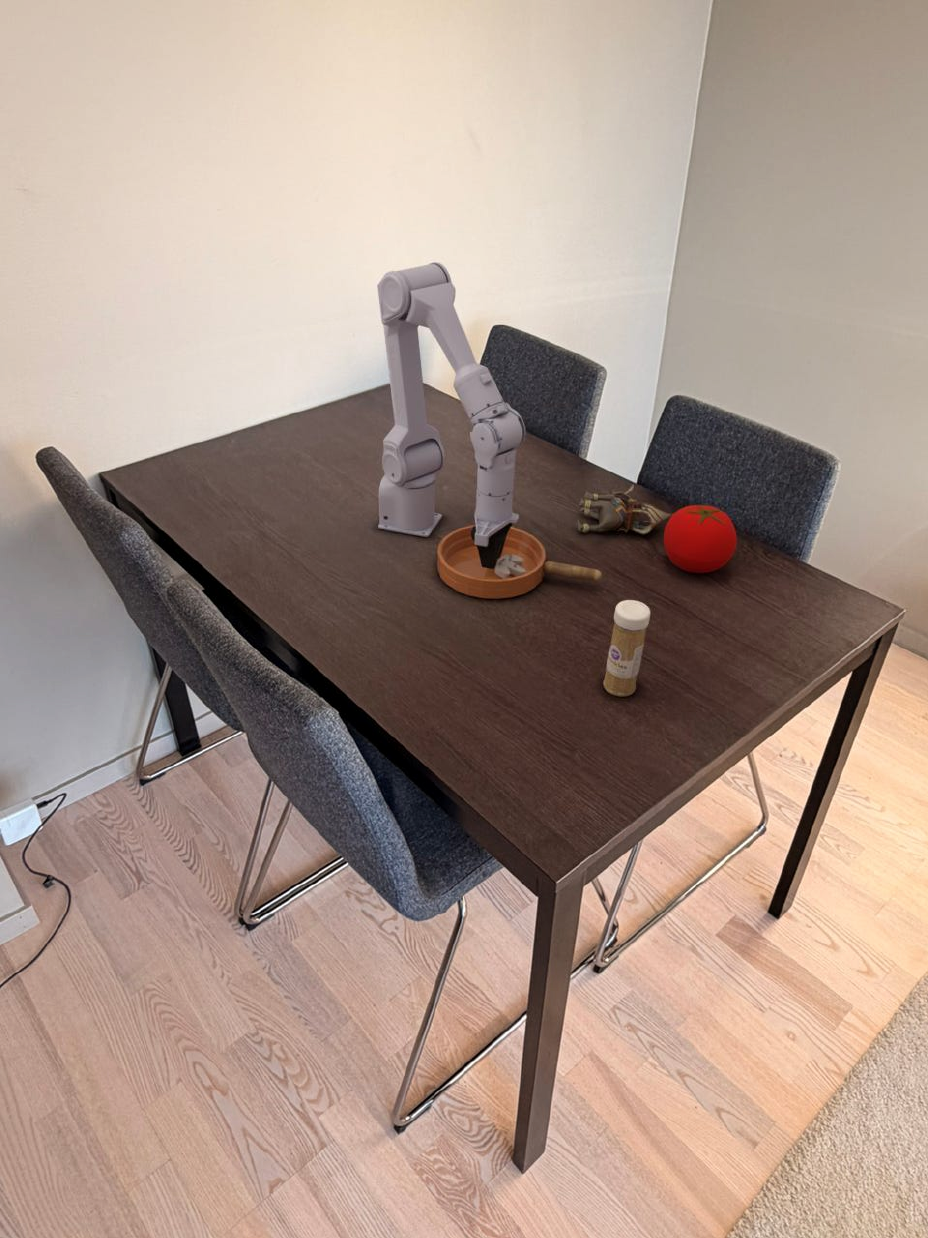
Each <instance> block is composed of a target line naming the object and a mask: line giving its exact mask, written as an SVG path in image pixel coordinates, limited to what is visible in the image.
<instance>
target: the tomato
mask: <svg viewBox="0 0 928 1238" xmlns="http://www.w3.org/2000/svg"><path fill="white" fill-rule="evenodd" d="M672 514H673V513H672ZM737 545H738V537H737V532H736V529H735V526H734V524H733V522H732V520H731V518H730V516H728V514H727V513H725V512H724V511H723V510H721V509H719V508H717V507H715V506H713V505H705V504H704V505H703V504H697V503H696V504H693V505H691V504H690V505H688V506H685V507H682V508H680V509H678V510H677V511H676V512H674V514H673V515H672V516H671V517H669V518H668V521H667V523H666V525H665V528H664V532H663V546H664V551H665V554H666V556H667V559H669V561H670V562H671V563H672V564H673V566H676V567H677V568H678V569H680V570H682V571H684V572H688V573H692V574H693V573H695V574H707V573H711V572H715V571H717V570H719V569H721V568H722V567H724V566H725V565H726V564H727V563H728V562H729V561H730V560H731V558H732V557H733V556H734V554H735V552H736V549H737Z"/></svg>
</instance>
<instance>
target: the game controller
mask: <svg viewBox="0 0 928 1238" xmlns="http://www.w3.org/2000/svg"><path fill="white" fill-rule="evenodd" d="M464 555H466V554H464ZM460 556H461V555H460ZM468 556H469V555H468ZM470 557H471V556H470ZM472 559H473V558H472ZM474 560H476V559H474ZM522 562H523V558H521V557H519V556H516V555H513V554H507V555H504V556H502V557H501V558H500V559H499V560H498V561H497V563H496V567H495V573H496V574H497V575H498V576H499V577H501V578H503V579H506V578H509V575H510V574H511V575H514V576H521V575H524V574H525V569H523V568H522V567H521V566H522Z"/></svg>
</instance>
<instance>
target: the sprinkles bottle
mask: <svg viewBox="0 0 928 1238" xmlns="http://www.w3.org/2000/svg"><path fill="white" fill-rule="evenodd" d="M650 619H651V609H650V607H649V606H647V604H645V603H644V602H641V601H639V600H634V599H625V600H622V601H620V602H618V603H617V604H616V605H615V608H614V614H613V622H614V624H613V628H612V635H611V640H610V646H609V649H608V655H607V661H606V669H605V674H604V675H605V677H604V680H603V683H602V685H603V687H604V690H606V692H607V693H609V694H610V695H612V696H615V697H620V698H621V697H622V698H623V697H629V696H631V695H633V694H634V692H636V689H637V685H636V683H637V679H638V675H639V671H640V666H641V660H642V655H643V650H644V644H645V638H646V632H647V628H648V625H649V624H650Z"/></svg>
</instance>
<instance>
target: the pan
mask: <svg viewBox="0 0 928 1238" xmlns="http://www.w3.org/2000/svg"><path fill="white" fill-rule="evenodd" d="M473 526H476V525H475V524H472V525H469V526H464V527H460V528H457V529H456V530H454V531H453V530H452V531H451V532H450V533H448V534H447V535H444V537H443V538H442V539H441V540H440V542H439V544H438V545H437V552H436V553H437V554H436V555H437V557H436V559H437V560H436V563H437V564H436V565H437V567H436V569H437V573H438V575H439V577H440V579H441V580H442V582H444V583H445V585H447V586H449V587H450V588H452V589H453V590H455V591H456V592H458V593H462V594H464V595H466V596H470V597H476V598H481V599H495V600H497V599H498V600H499V599H506V598H514V597H517V596H520V595H525V594H526V593H528V592H531V591H532V590H533V589H535V588H536V587H537V586H538V585H539V584H541V582H542V581H543V578H544V575H545V571H544V570H543V566H544V563H545V562H547V561H546V560H547V555H546V553H547V552H546V549H545V547H544V545H543V543H542V542H541V541H540V540H539V539H538V538H536V537H535V536H534V535H533V534H530V533H529V532H527V531H525V530H523V529H519V528H516V527H514V526H511V528H510V529H509V531H508V534H507V536H506V540H505V543H504V547H503V551H502V554H501V556H500V558H501V557H502V556H504V555H507V554H513V555H516V556H519V557H521V558H523V562H522V566H521V567H522V568H523V569H525V574H524V575H521V576H514V575H511V574H510V575H509V578H506V579H503V578H501V577H499V576H498V575H497V574H496V573H495V568H494V569H489V568H484V567H482V565H481V561H480V557H479V552H478V549H477V546H476V545H475V542H474V541H473V539H472V538H471V530H472V528H473ZM464 554H466V555H464ZM460 555H461V556H460ZM468 555H469V556H468ZM470 556H471V557H470ZM472 558H473V559H472ZM500 558H499V559H500ZM474 559H476V560H474ZM499 559H497V561H498V560H499ZM495 567H496V566H495Z"/></svg>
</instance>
